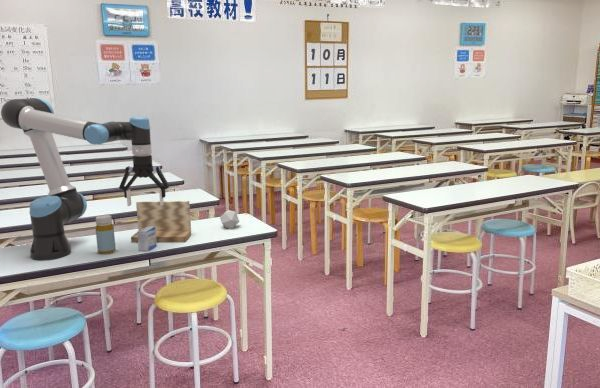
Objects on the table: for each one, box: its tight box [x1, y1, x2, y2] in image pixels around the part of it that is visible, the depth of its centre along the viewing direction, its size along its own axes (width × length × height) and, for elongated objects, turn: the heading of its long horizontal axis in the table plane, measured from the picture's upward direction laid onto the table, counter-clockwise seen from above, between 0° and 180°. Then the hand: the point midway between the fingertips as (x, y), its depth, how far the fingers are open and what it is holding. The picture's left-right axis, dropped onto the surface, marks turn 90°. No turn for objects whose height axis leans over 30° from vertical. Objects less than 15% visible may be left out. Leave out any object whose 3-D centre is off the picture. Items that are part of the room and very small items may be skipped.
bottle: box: [95, 214, 117, 255], centre depth 211 cm, size 7×7×15 cm
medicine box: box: [136, 226, 158, 252], centre depth 215 cm, size 8×4×9 cm, turn 168°
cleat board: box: [130, 200, 192, 244], centre depth 228 cm, size 24×12×16 cm, turn 89°
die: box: [219, 209, 240, 230], centre depth 246 cm, size 8×9×10 cm
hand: (145, 205), depth 213 cm, fingers open, 13 cm apart
